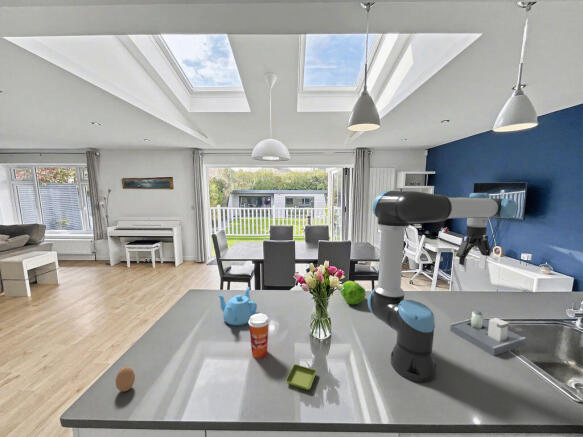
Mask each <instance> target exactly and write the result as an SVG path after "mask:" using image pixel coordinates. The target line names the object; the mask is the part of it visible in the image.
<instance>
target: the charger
mask: <svg viewBox="0 0 583 437" xmlns="http://www.w3.org/2000/svg"><path fill="white" fill-rule="evenodd" d="M488 321H489V327H488V336H489V337H491V338H493V339H495V340H497V341H499V342H502V341H505V340H507V331H508V330H509V322H507V321H505V320H503V319H501V318H498V317H493V318H491V319H488Z"/></svg>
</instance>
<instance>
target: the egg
mask: <svg viewBox="0 0 583 437" xmlns="http://www.w3.org/2000/svg"><path fill="white" fill-rule="evenodd" d="M135 379H136V375H135V371H134V370H133V369H132V368H131V367H130V366H123V367H122V368H120V370H119V371H118V373H117V374H116V377H115V387H116V389H117V390H118V391H119V392H124V393H125V392H127V391H130V389H131V388H132V387H133V385H134V383H135Z"/></svg>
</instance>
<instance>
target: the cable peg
mask: <svg viewBox="0 0 583 437" xmlns="http://www.w3.org/2000/svg"><path fill="white" fill-rule="evenodd" d="M470 319H471V327H473V328H475V329H477V330H480V329H482V321H483V319H484V314H483V313H482V312H481V311H478V310H473V311H472V312H471V318H470Z"/></svg>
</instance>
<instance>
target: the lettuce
mask: <svg viewBox="0 0 583 437" xmlns="http://www.w3.org/2000/svg"><path fill="white" fill-rule="evenodd" d="M342 285H343V287H344V289H343V290H341V289H340V294H341V296H342V298H343V299H344V301H345V302H346V303H348V304H349V305H351V306H353V305H354V306H355V305H358V304H361V303H362V301H364V300H365V298H366V289H365V288H364V287H363V286H362V285H361V284H360V283H358V282H356V281H354V280H353V281H352V280H347V281H345V282H343V284H342Z"/></svg>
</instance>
